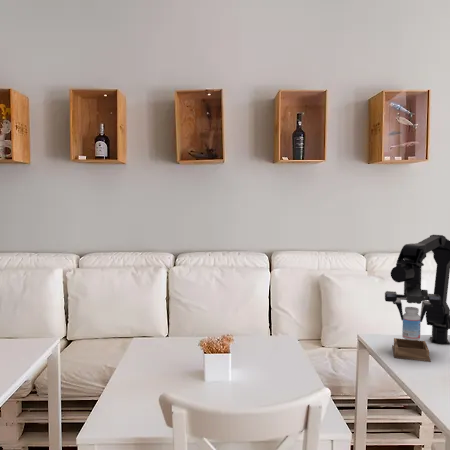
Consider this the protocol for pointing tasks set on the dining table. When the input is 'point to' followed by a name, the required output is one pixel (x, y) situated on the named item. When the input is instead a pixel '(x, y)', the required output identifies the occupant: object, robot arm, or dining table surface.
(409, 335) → the pill bottle
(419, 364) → the dining table surface
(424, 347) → the walnut socket
